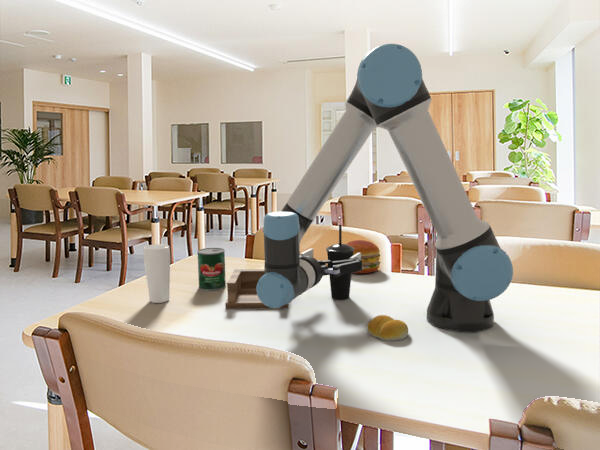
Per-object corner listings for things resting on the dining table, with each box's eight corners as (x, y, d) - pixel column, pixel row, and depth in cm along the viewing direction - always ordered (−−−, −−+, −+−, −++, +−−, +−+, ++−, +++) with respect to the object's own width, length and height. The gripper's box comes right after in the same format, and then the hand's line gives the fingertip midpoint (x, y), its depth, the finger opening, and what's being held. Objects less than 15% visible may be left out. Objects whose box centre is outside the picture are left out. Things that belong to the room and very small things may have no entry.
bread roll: (392, 345, 110) (393, 327, 110) (361, 333, 117) (361, 316, 116) (416, 335, 116) (417, 318, 115) (385, 324, 122) (385, 308, 122)
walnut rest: (287, 308, 134) (287, 283, 133) (225, 308, 134) (224, 284, 133) (289, 290, 150) (289, 268, 149) (234, 290, 150) (233, 268, 149)
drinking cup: (338, 291, 148) (338, 221, 145) (360, 297, 143) (360, 224, 139) (320, 297, 143) (320, 225, 140) (341, 303, 137) (341, 228, 134)
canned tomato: (206, 292, 149) (204, 254, 147) (194, 286, 155) (192, 250, 153) (230, 287, 153) (229, 250, 152) (218, 281, 160) (216, 246, 158)
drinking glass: (177, 300, 142) (174, 246, 139) (155, 306, 137) (151, 250, 134) (163, 295, 146) (160, 243, 144) (141, 301, 142) (138, 246, 139)
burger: (379, 276, 163) (380, 245, 162) (336, 275, 166) (336, 244, 164) (380, 266, 176) (381, 237, 175) (340, 265, 179) (340, 236, 177)
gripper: (255, 284, 127) (293, 264, 146) (352, 296, 116) (380, 273, 135) (254, 254, 125) (293, 238, 144) (352, 263, 115) (380, 245, 134)
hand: (335, 255), depth 140 cm, fingers open, 13 cm apart
